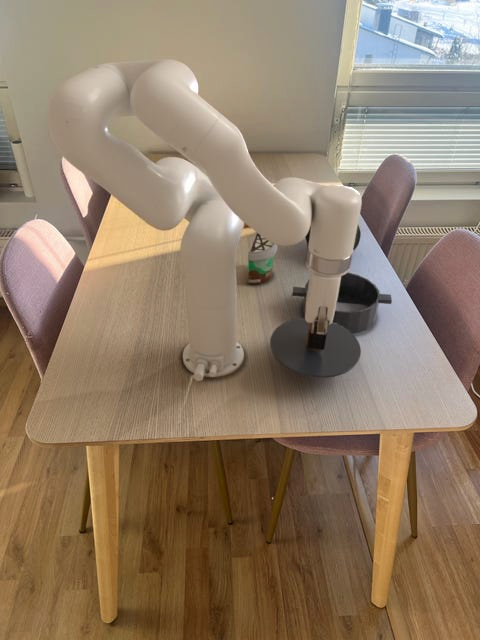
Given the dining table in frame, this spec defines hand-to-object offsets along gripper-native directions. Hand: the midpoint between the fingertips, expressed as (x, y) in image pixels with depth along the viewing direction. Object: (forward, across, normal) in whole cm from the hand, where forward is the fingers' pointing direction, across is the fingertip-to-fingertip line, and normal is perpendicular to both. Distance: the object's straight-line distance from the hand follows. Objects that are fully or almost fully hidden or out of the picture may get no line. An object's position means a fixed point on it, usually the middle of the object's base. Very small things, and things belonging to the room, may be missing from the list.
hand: (315, 340), depth 99 cm
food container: (+8, -34, -13) cm, 37 cm away
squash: (+8, -48, +4) cm, 49 cm away
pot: (+7, -20, +6) cm, 22 cm away
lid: (+2, 0, 0) cm, 2 cm away
